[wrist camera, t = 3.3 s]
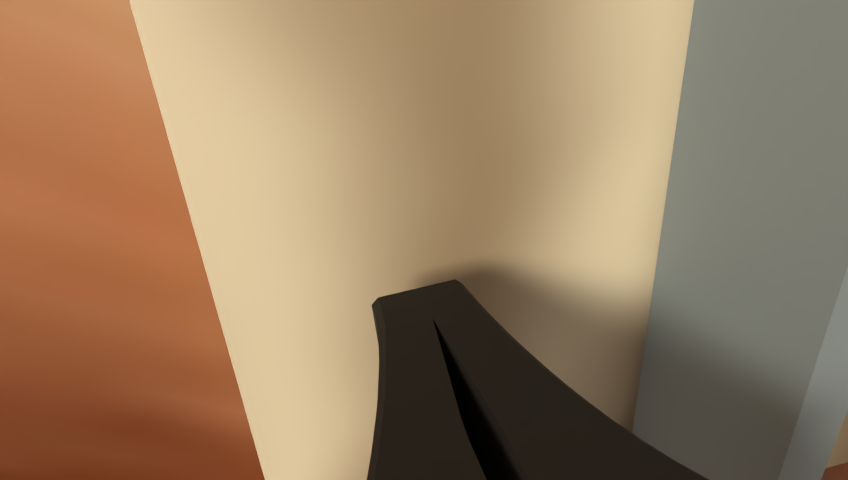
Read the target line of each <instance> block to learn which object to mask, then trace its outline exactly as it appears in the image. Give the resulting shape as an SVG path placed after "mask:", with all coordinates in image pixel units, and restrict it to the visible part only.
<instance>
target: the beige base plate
mask: <svg viewBox="0 0 848 480" xmlns="http://www.w3.org/2000/svg"><path fill="white" fill-rule="evenodd" d="M129 1H130V5H131V8H132V12H133V15H134V19H135V22H136V26H137V29H138V33H139V36H140V40H141V43H142V47H143V51H144V54H145V58H146V61H147V65H148V68H149V72H150V75H151V79H152V82H153V86H154V89H155V93H156V96H157V100H158V104H159V107H160V111H161V114H162V118H163V121H164V125H165V128H166V132H167V135H168V139H169V142H170V146H171V149H172V153H173V157H174V160H175V164H176V167H177V171H178V174H179V178H180V181H181V185H182V188H183V192H184V195H185V199H186V202H187V206H188V210H189V213H190V217H191V220H192V224H193V227H194V231H195V234H196V238H197V241H198V245H199V248H200V252H201V255H202V259H203V263H204V266H205V270H206V273H207V277H208V280H209V284H210V287H211V291H212V294H213V298H214V301H215V305H216V308H217V312H218V316H219V319H220V323H221V326H222V330H223V333H224V337H225V340H226V344H227V347H228V351H229V354H230V358H231V361H232V365H233V369H234V372H235V376H236V379H237V383H238V386H239V390H240V393H241V397H242V400H243V404H244V407H245V411H246V414H247V418H248V422H249V425H250V429H251V432H252V436H253V439H254V443H255V446H256V450H257V453H258V457H259V460H260V464H261V467H262V471H263V475H264V478H265V480H367V475H368V469H369V463H370V458H371V451H372V443H373V435H374V427H375V419H376V411H377V398H378V377H379V345H378V339H377V334H376V328H375V322H374V316H373V311H372V304H373V303H374V302H375V300H376V299H377V298H378V297H382V296H386V295H391V294H395V293H399V292H403V291H408V290H412V289H416V288H420V287H424V286H429V285H433V284H437V283H441V282H446V281H450V280H454V279H456V280H457V281H459V282H461V283H462V284H463V285H464V286H465V287H466V288H467V290H468V291H469V292H470V293H471V294H472V295H473V296H474V297H475V299H476V300H477V301H478V302H479V303H480V304H481V305H482V306H483V307H484V308H485V309H486V310H487V311H488V313H489V314H490V315H491V316H492V317H493V318H494V319H495V320H496V321H497V322H498V323H499V324H500V325H501V326H502V327H503V328H504V329H505V330H506V331H507V332H508V333H509V334H510V335H511V336H512V337H513V338H515V339H516V340H517V341H518V342H519V343H520V344H521V345H522V346H523V347H524V348H525V349H526V350H528V351H529V352H530V353H531V354H532V355H533V356H534V357H535V358H536V359H538V360H539V361H540V362H541V363H542V364H543V365H544V366H545V367H546V368H548V369H549V370H550V371H551V372H552V373H553V374H555V375H556V376H557V377H558V378H559V379H561V380H562V381H563V382H564V383H565V384H567V385H568V386H569V387H570V388H572V389H573V390H574V391H575V392H577V393H578V394H579V395H580V396H582V397H583V398H584V399H585V400H587V401H588V402H589V403H591V404H592V405H593V406H595V407H596V408H597V409H599V410H600V411H601V412H603V413H604V414H605V415H607V416H608V417H610V418H611V419H612V420H614V421H615V422H617V423H618V424H619V425H621V426H622V427H624V428H625V429H627V430H628V431H630V432H631V433H632V429H633V422H634V415H635V408H636V401H637V394H638V387H639V380H640V373H641V367H642V360H643V353H644V346H645V339H646V332H647V325H648V318H649V311H650V304H651V297H652V290H653V283H654V276H655V270H656V263H657V256H658V249H659V242H660V235H661V228H662V221H663V214H664V207H665V200H666V193H667V186H668V179H669V172H670V166H671V159H672V152H673V145H674V138H675V131H676V124H677V117H678V110H679V103H680V96H681V89H682V82H683V75H684V69H685V62H686V55H687V48H688V41H689V34H690V27H691V20H692V13H693V6H694V0H129ZM847 462H848V410H847V413H846V415H845V418H844V421H843V423H842V426H841V429H840V431H839V434H838V437H837V439H836V442H835V445H834V447H833V450H832V453H831V455H830V458H829V461H828V463H827V466H826V468H829V467H832V466H836V465H840V464H843V463H847Z"/></svg>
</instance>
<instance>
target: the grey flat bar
mask: <svg viewBox="0 0 848 480" xmlns="http://www.w3.org/2000/svg"><path fill="white" fill-rule="evenodd" d="M847 410H848V0H694V6H693V13H692V20H691V27H690V34H689V41H688V48H687V55H686V62H685V69H684V75H683V82H682V89H681V96H680V103H679V110H678V117H677V124H676V131H675V138H674V145H673V152H672V159H671V166H670V172H669V179H668V186H667V193H666V200H665V207H664V214H663V221H662V228H661V235H660V242H659V249H658V256H657V263H656V270H655V276H654V283H653V290H652V297H651V304H650V311H649V318H648V325H647V332H646V339H645V346H644V353H643V360H642V367H641V373H640V380H639V387H638V394H637V401H636V408H635V415H634V422H633V429H632V433H633V434H634V435H636V436H637V437H639V438H640V439H642V440H643V441H645V442H646V443H648V444H649V445H651V446H653V447H654V448H656V449H657V450H659V451H661V452H662V453H664V454H665V455H667V456H668V457H670V458H672V459H673V460H675V461H677V462H678V463H680V464H682V465H684V466H686V467H687V468H689V469H691V470H693V471H695V472H696V473H698V474H700V475H702V476H704V477H705V478H707V479H709V480H821V479H822V477H823V474H824V471H825V469H826V466H827V463H828V461H829V458H830V455H831V453H832V450H833V447H834V445H835V442H836V439H837V437H838V434H839V431H840V429H841V426H842V423H843V421H844V418H845V415H846V413H847Z"/></svg>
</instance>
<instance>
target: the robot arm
mask: <svg viewBox="0 0 848 480" xmlns="http://www.w3.org/2000/svg"><path fill="white" fill-rule="evenodd" d="M372 311H373V316H374V322H375V328H376V334H377V339H378V345H379V377H378V398H377V411H376V419H375V427H374V435H373V443H372V451H371V458H370V463H369V469H368V475H367V480H709V479H707V478H705V477H704V476H702V475H700V474H698V473H696V472H695V471H693V470H691V469H689V468H687V467H686V466H684V465H682V464H680V463H678V462H677V461H675V460H673V459H672V458H670V457H668V456H667V455H665V454H664V453H662V452H661V451H659V450H657V449H656V448H654V447H653V446H651V445H649V444H648V443H646V442H645V441H643V440H642V439H640V438H639V437H637V436H636V435H634V434H633V433H631V432H630V431H628V430H627V429H625V428H624V427H622V426H621V425H619V424H618V423H617V422H615V421H614V420H612V419H611V418H610V417H608V416H607V415H605V414H604V413H603V412H601V411H600V410H599V409H597V408H596V407H595V406H593V405H592V404H591V403H589V402H588V401H587V400H585V399H584V398H583V397H582V396H580V395H579V394H578V393H577V392H575V391H574V390H573V389H572V388H570V387H569V386H568V385H567V384H565V383H564V382H563V381H562V380H561V379H559V378H558V377H557V376H556V375H555V374H553V373H552V372H551V371H550V370H549V369H548V368H546V367H545V366H544V365H543V364H542V363H541V362H540V361H539V360H538V359H536V358H535V357H534V356H533V355H532V354H531V353H530V352H529V351H528V350H526V349H525V348H524V347H523V346H522V345H521V344H520V343H519V342H518V341H517V340H516V339H515V338H513V337H512V336H511V335H510V334H509V333H508V332H507V331H506V330H505V329H504V328H503V327H502V326H501V325H500V324H499V323H498V322H497V321H496V320H495V319H494V318H493V317H492V316H491V315H490V314H489V313H488V311H487V310H486V309H485V308H484V307H483V306H482V305H481V304H480V303H479V302H478V301H477V300H476V299H475V297H474V296H473V295H472V294H471V293H470V292H469V291H468V290H467V288H466V287H465V286H464V285H463V284H462V283H461V282H459V281H457V280H456V279H454V280H450V281H446V282H441V283H437V284H433V285H429V286H424V287H420V288H416V289H412V290H408V291H403V292H399V293H395V294H391V295H386V296H382V297H378V298H377V299H376V300H375V302H374V303H373V304H372Z"/></svg>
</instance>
